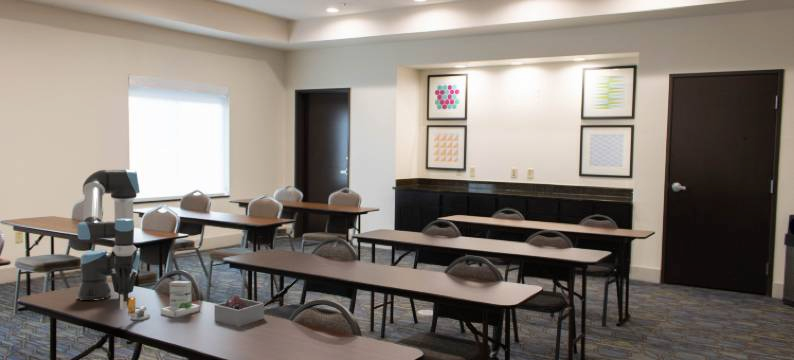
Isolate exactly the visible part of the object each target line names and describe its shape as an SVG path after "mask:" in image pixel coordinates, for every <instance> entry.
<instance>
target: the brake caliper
mask: <svg viewBox="0 0 794 360" xmlns="http://www.w3.org/2000/svg"><path fill="white" fill-rule="evenodd" d="M240 298H241V297H239V296H238V295H237V294H235V295H234V296H233V297H232V299H231V300H232V301H231V300H229V299H228V298H224V301H223V302H222V303H224V304H225V305H226V307H228V308H232V309H237V310H240V309H244V308H246V305H245V303H244V302H243V301H242V300H241V299H240ZM238 300H239V301H238ZM229 301H231V302H229ZM233 301H234V303H233ZM240 302H241V303H240ZM238 304H240V305H241V307H240V308H239V306H238Z"/></svg>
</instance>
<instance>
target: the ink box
mask: <svg viewBox="0 0 794 360" xmlns="http://www.w3.org/2000/svg"><path fill="white" fill-rule="evenodd" d="M192 304H193V303H192V281H190V280H189V281H188V280H186V281H184V280H174V281H170V282H169V306H170V308H185V309H187V308H189V307H191V306H192Z"/></svg>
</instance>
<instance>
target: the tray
mask: <svg viewBox="0 0 794 360" xmlns="http://www.w3.org/2000/svg"><path fill="white" fill-rule="evenodd" d="M200 311H201V305H200V304H195V303H192V306H191V307H189V308H187V309H185V308H170V305H169V306H167V307H162V308H160V315H164V316H166V317H171V318H175V319H176V318H179V317H183V316H187V315H191V314H194V313H197V312H200ZM190 313H191V314H190Z"/></svg>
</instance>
